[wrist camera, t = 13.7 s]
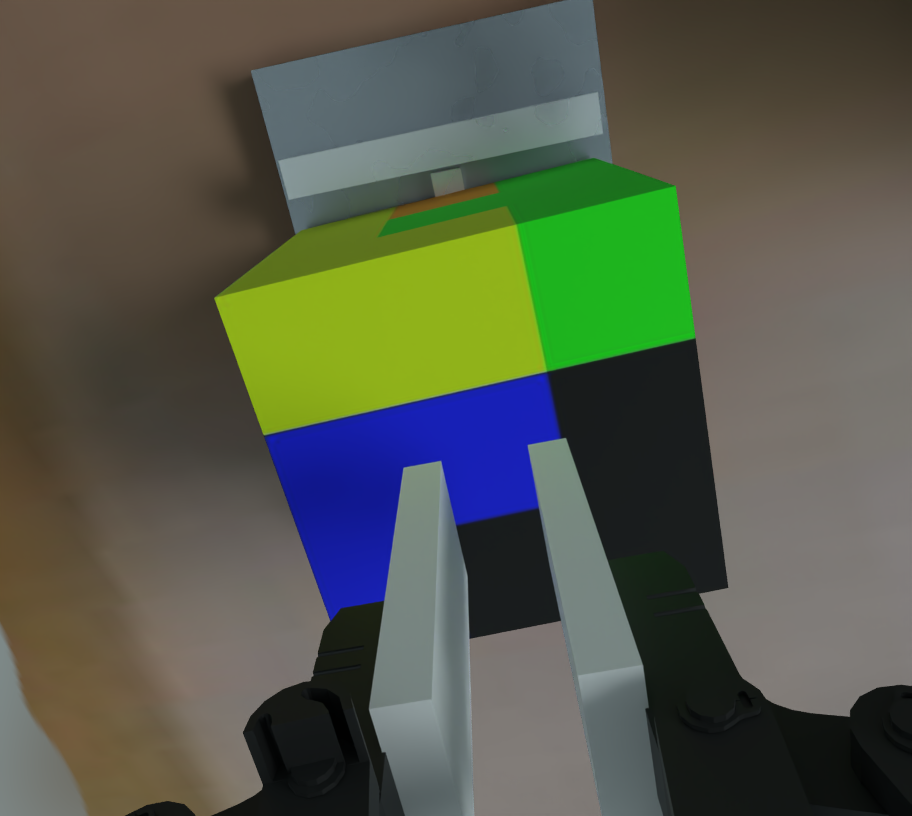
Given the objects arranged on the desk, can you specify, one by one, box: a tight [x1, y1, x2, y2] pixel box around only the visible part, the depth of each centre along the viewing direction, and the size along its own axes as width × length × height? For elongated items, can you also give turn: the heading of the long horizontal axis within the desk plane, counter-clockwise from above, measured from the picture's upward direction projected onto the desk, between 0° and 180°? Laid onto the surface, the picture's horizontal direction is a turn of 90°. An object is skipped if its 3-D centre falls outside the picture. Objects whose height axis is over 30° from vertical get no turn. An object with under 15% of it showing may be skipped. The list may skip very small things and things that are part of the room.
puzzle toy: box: [214, 158, 728, 639], centre depth 23 cm, size 10×10×10 cm
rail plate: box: [251, 0, 612, 234], centre depth 27 cm, size 20×11×3 cm, turn 11°
